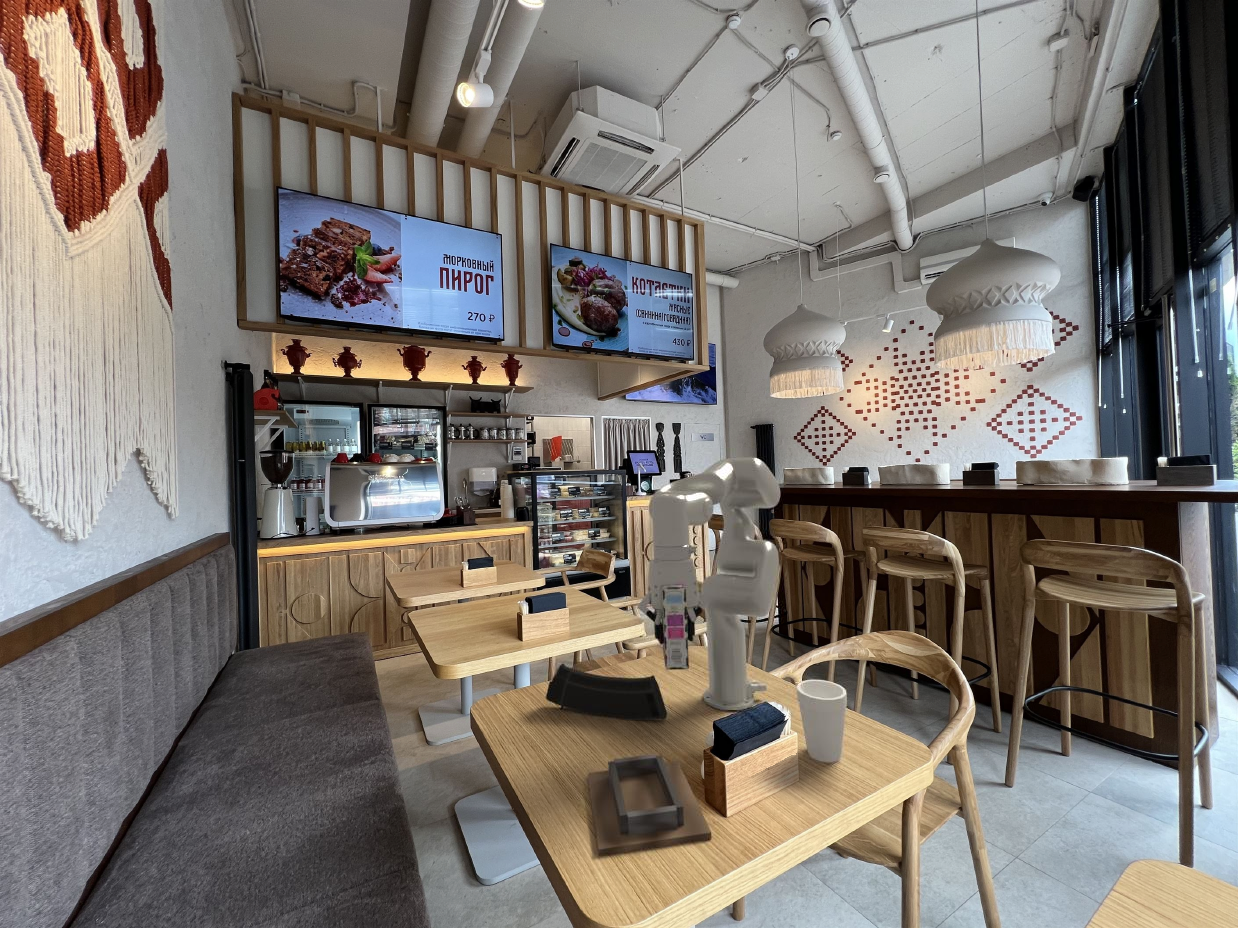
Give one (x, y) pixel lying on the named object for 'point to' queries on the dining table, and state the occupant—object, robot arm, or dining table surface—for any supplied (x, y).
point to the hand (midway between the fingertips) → (675, 639)
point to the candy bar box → (675, 627)
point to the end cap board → (644, 806)
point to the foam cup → (822, 718)
